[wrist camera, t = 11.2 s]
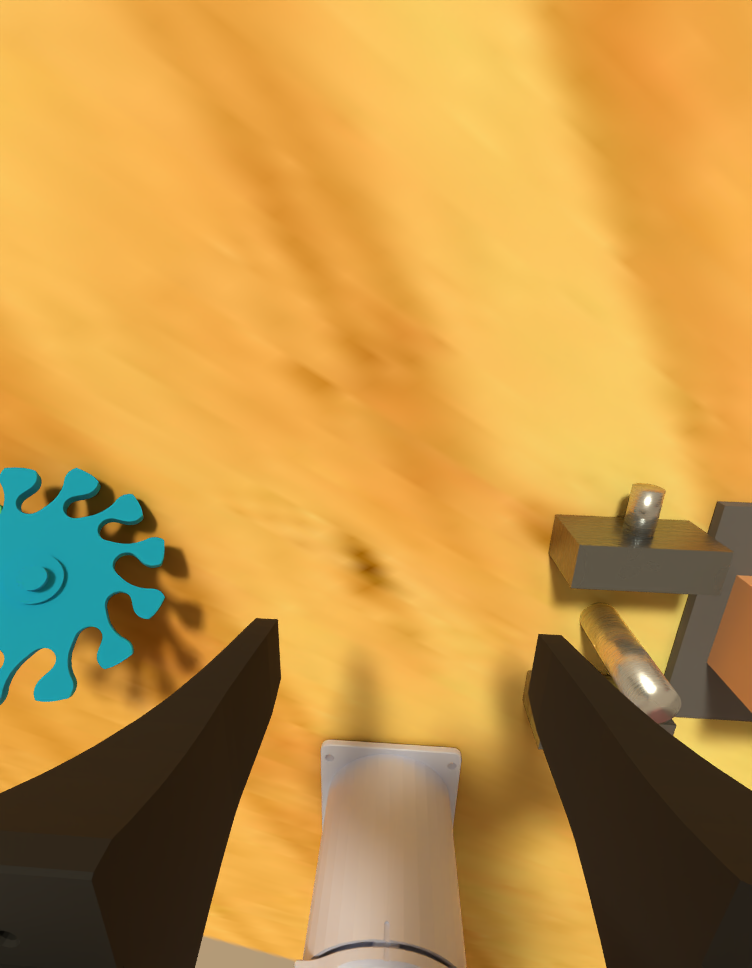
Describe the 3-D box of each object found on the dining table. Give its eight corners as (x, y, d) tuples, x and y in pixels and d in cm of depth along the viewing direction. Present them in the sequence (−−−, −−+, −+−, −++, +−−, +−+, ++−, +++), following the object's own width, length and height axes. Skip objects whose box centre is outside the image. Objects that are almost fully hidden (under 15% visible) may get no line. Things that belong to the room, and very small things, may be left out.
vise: (635, 707, 24) (697, 810, 19) (522, 699, 25) (554, 800, 20) (701, 479, 20) (804, 535, 15) (562, 473, 20) (618, 526, 15)
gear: (216, 574, 21) (-1, 778, 16) (207, 586, 26) (40, 743, 21) (39, 399, 20) (-246, 558, 15) (65, 447, 25) (-142, 577, 21)
